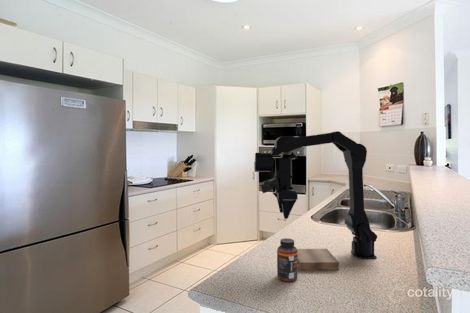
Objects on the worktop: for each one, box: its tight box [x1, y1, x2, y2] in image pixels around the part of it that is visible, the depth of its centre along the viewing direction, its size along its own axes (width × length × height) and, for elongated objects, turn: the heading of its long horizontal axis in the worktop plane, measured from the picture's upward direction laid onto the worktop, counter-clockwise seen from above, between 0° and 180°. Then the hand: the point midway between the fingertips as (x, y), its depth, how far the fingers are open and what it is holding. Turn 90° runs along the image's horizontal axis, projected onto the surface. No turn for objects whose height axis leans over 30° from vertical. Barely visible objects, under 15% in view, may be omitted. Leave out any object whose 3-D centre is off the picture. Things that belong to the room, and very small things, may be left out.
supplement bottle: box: [276, 237, 299, 283], centre depth 84 cm, size 6×6×11 cm
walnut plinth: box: [297, 248, 340, 271], centre depth 95 cm, size 12×12×2 cm
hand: (283, 215), depth 100 cm, fingers open, 9 cm apart
